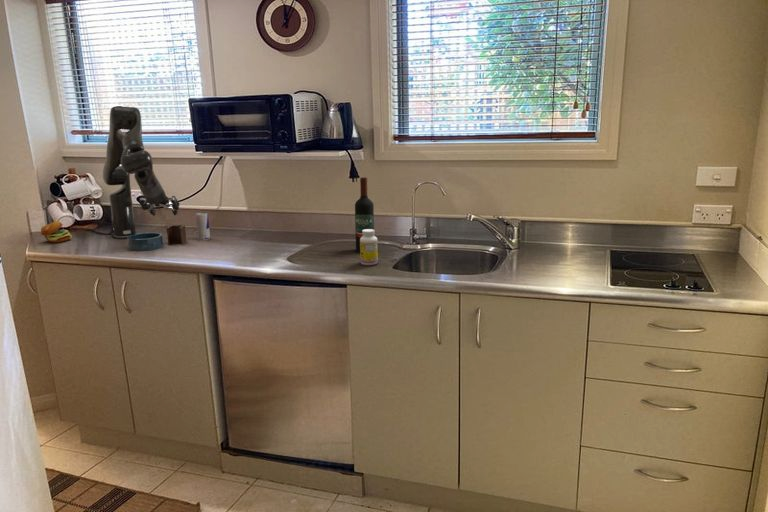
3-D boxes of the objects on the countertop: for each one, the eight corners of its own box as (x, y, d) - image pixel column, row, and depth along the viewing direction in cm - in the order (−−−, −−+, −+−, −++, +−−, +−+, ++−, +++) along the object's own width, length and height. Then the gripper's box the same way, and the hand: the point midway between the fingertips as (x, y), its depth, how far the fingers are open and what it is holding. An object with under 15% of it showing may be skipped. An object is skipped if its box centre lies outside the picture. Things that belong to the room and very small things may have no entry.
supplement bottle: (359, 261, 219) (359, 228, 216) (377, 260, 219) (376, 228, 216) (360, 266, 212) (360, 232, 209) (378, 265, 213) (378, 231, 210)
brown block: (182, 245, 247) (180, 227, 245) (168, 246, 247) (166, 227, 245) (186, 242, 253) (184, 224, 251) (173, 242, 252) (171, 225, 250)
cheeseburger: (74, 240, 257) (64, 220, 253) (48, 249, 252) (39, 229, 248) (71, 236, 265) (62, 216, 262) (46, 245, 260) (37, 224, 257)
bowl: (122, 249, 241) (120, 237, 239) (150, 243, 252) (148, 231, 250) (141, 253, 233) (140, 240, 232) (170, 247, 244) (168, 234, 243)
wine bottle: (376, 249, 238) (375, 176, 230) (370, 253, 231) (369, 179, 223) (359, 247, 240) (358, 176, 233) (353, 251, 233) (351, 178, 226)
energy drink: (212, 238, 260) (209, 212, 257) (207, 241, 255) (205, 214, 252) (200, 238, 261) (198, 212, 258) (195, 241, 255) (193, 214, 252)
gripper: (172, 181, 223) (183, 206, 237) (135, 182, 222) (149, 206, 236) (169, 197, 219) (181, 221, 233) (131, 197, 218) (145, 221, 232)
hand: (165, 213), depth 234 cm, fingers open, 8 cm apart
